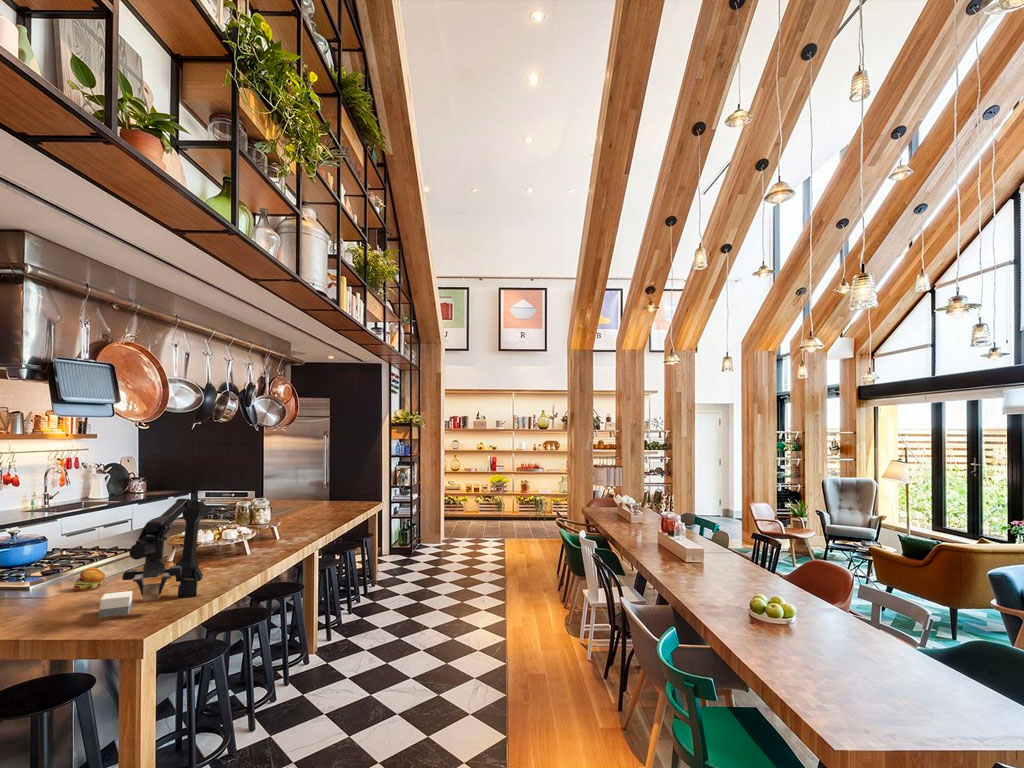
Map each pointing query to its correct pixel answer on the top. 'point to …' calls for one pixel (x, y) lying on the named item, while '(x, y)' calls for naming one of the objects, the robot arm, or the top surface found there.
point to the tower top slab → (116, 600)
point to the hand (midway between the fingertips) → (151, 595)
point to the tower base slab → (115, 611)
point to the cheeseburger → (89, 579)
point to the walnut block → (151, 592)
